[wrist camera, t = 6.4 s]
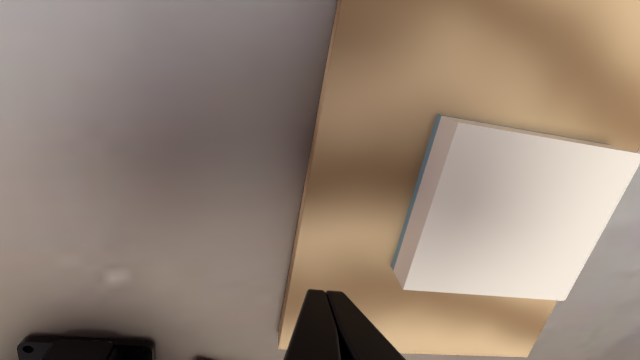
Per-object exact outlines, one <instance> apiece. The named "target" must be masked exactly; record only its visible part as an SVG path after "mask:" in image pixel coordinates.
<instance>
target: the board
mask: <svg viewBox="0 0 640 360" xmlns="http://www.w3.org/2000/svg"><path fill="white" fill-rule="evenodd" d="M437 114H441V115H446V116H452V117H458V118H463V119H469V120H475V121H481V122H486V123H492V124H498V125H503V126H509V127H515V128H520V129H526V130H532V131H537V132H543V133H549V134H555V135H560V136H566V137H572V138H577V139H583V140H589V141H594V142H600V143H606V144H610V145H613V146H617V147H620V148H623V149H627V150H630V151H634V152H638V150H639V148H640V0H338V1H337V7H336V12H335V18H334V23H333V29H332V34H331V40H330V46H329V51H328V57H327V62H326V68H325V74H324V79H323V85H322V90H321V96H320V102H319V107H318V113H317V118H316V124H315V129H314V135H313V141H312V146H311V152H310V157H309V163H308V169H307V174H306V180H305V185H304V191H303V196H302V202H301V208H300V213H299V219H298V224H297V230H296V236H295V241H294V247H293V252H292V258H291V263H290V269H289V275H288V280H287V286H286V291H285V297H284V303H283V308H282V314H281V319H280V325H279V330H278V349H287V348H288V345H289V342H290V339H291V336H292V333H293V330H294V327H295V324H296V321H297V318H298V316H299V313H300V310H301V307H302V304H303V301H304V298H305V295H306V292H307V290H308V289H318V290H324V291H325V292H326V291H327V290H332V291H342V292H343V293H345V294H346V295H347V297H348V298H349V299H350V300H351V301H352V302H353V303H354V304H355V305H356V306H357V307H358V308H359V309H360V311H361V312H362V313H363V314H364V315H365V316H366V317H367V318H368V319H369V320H370V321H371V322H372V324H373V325H374V326H375V327H376V328H377V329H378V330H379V331H380V332H381V333H382V334H383V335H384V336H385V338H386V339H387V340H388V341H389V342H390V343H391V344H392V345H393V346H394V347H395V348H396V349H397V351H398V352H399V353H413V354H444V355H475V356H506V357H527V356H528V355H529V353H530V351H531V349H532V347H533V345H534V343H535V342H536V340H537V338H538V336H539V334H540V332H541V330H542V329H543V327H544V325H545V323H546V321H547V319H548V317H549V316H550V314H551V312H552V310H553V308H554V306H555V304H556V303H557V301H558V300H544V299H530V298H516V297H501V296H487V295H472V294H458V293H444V292H429V291H415V290H403V289H402V287H401V285H400V283H399V281H398V279H397V277H396V275H395V273H394V272H393V270H392V268H391V264H392V261H393V257H394V254H395V251H396V248H397V244H398V241H399V238H400V234H401V231H402V228H403V225H404V221H405V218H406V215H407V212H408V208H409V205H410V202H411V199H412V195H413V192H414V189H415V185H416V182H417V179H418V176H419V172H420V169H421V166H422V163H423V159H424V156H425V153H426V149H427V146H428V143H429V140H430V136H431V133H432V130H433V127H434V123H435V120H436V117H437Z"/></svg>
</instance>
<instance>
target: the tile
mask: <svg viewBox="0 0 640 360" xmlns="http://www.w3.org/2000/svg"><path fill="white" fill-rule="evenodd" d="M639 164H640V153H637V152H634V151H630V150H627V149H623V148H620V147H617V146H613V145H610V144H606V143H600V142H594V141H589V140H583V139H577V138H572V137H566V136H560V135H555V134H549V133H543V132H537V131H532V130H526V129H520V128H515V127H509V126H503V125H498V124H492V123H486V122H481V121H475V120H469V119H463V118H458V117H452V116H446V115H441V114H437V117H436V120H435V123H434V127H433V130H432V133H431V136H430V140H429V143H428V146H427V149H426V153H425V156H424V159H423V163H422V166H421V169H420V172H419V176H418V179H417V182H416V185H415V189H414V192H413V195H412V199H411V202H410V205H409V208H408V212H407V215H406V218H405V221H404V225H403V228H402V231H401V234H400V238H399V241H398V244H397V248H396V251H395V254H394V257H393V261H392V264H391V268H392V270H393V272H394V273H395V275H396V277H397V279H398V281H399V283H400V285H401V287H402V289H403V290H415V291H429V292H444V293H458V294H472V295H487V296H501V297H516V298H530V299H544V300H559V301H565V299H566V297H567V296H568V294H569V292H570V290H571V288H572V287H573V285H574V283H575V281H576V279H577V277H578V276H579V274H580V272H581V270H582V268H583V266H584V265H585V263H586V261H587V259H588V257H589V256H590V254H591V252H592V250H593V248H594V246H595V245H596V243H597V241H598V239H599V237H600V235H601V234H602V232H603V230H604V228H605V226H606V225H607V223H608V221H609V219H610V217H611V215H612V214H613V212H614V210H615V208H616V206H617V204H618V203H619V201H620V199H621V197H622V195H623V194H624V192H625V190H626V188H627V186H628V184H629V183H630V181H631V179H632V177H633V175H634V173H635V172H636V170H637V168H638V166H639Z"/></svg>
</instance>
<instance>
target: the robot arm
mask: <svg viewBox="0 0 640 360" xmlns="http://www.w3.org/2000/svg"><path fill="white" fill-rule="evenodd" d="M143 349H144V350H143ZM17 351H18V357H19V360H155V346H154V344H153V343H152V342H151V341H149V340H138V339H109V338H81V337H52V336H28V337H25V338H24V339H23V341H22V342H21V343H20V344H19V345H18V346H17ZM284 360H406V359H405V358H404V357H403V356H402V355H401V354H400V353H399V352H398V351H397V349H396V348H395V347H394V346H393V345H392V344H391V343H390V342H389V341H388V340H387V339H386V338H385V336H384V335H383V334H382V333H381V332H380V331H379V330H378V329H377V328H376V327H375V326H374V325H373V324H372V322H371V321H370V320H369V319H368V318H367V317H366V316H365V315H364V314H363V313H362V312H361V311H360V309H359V308H358V307H357V306H356V305H355V304H354V303H353V302H352V301H351V300H350V299H349V298H348V297H347V295H346V294H345V293H343V292H342V291H332V290H327V291H326V292H325V291H324V290H318V289H308V290H307V292H306V295H305V298H304V301H303V304H302V307H301V310H300V313H299V316H298V318H297V321H296V324H295V327H294V330H293V333H292V336H291V339H290V342H289V345H288V348H287V351H286V354H285V357H284Z"/></svg>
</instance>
